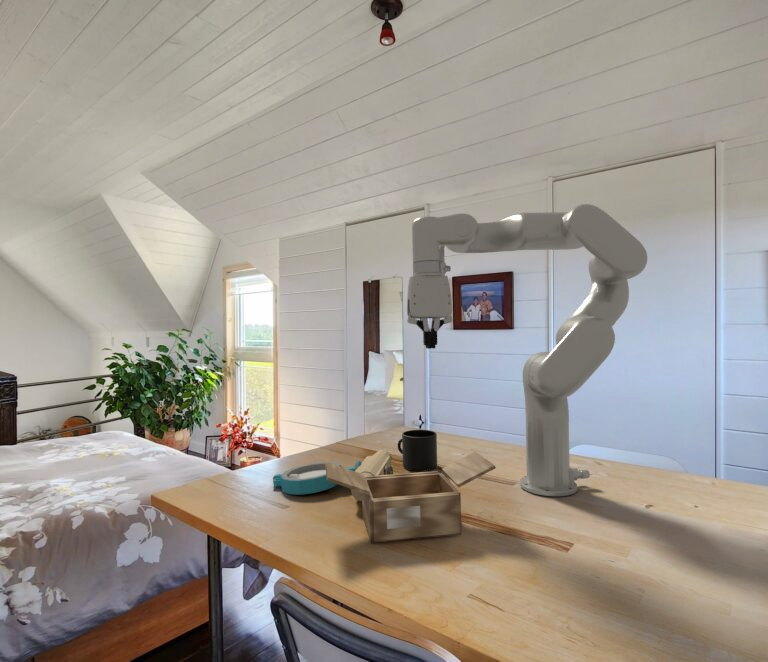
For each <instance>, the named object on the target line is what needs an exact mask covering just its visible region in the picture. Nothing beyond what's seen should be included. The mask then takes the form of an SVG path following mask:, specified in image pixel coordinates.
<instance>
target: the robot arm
mask: <svg viewBox="0 0 768 662" xmlns="http://www.w3.org/2000/svg"><path fill="white" fill-rule="evenodd" d="M411 233H412V235H411V239H412V241H411V242H412V275H411V276H409V279H408V284H407V285H408V286H407V298H406V314H407V315H406V316H407V320H406V321H407V323H408V324H411V325H414V326H417V327H418V328H419V329H420V330H421V331H422V333H423V334H422V335H423V340H422V343H423V346H425V349H429V350H430V349H436V346H437V345H438V331H440V329H441V328H442V326H443V325H446V324H450V323H452V322H453V317H452V314H453V302H452V292H451V286H450V281H449V280H450V279H449V276H448V275H446V274H447V272H451V265H447V264H446V262H445V259H446V258H445V247H446V248H447V249H448V250H449V251H451V252H454V253H457V254H485V253H498V252H501V253H502V252H514V251H515V252H516V251H534V250H536V251H538V250H539V251H542V250H543V251H544V250H548V251H549V250H550V251H551V250H554V251H555V250H565V251H566V250H577V249H580V248H583V247H584V248H585V249H586V250H587V251H589V252H590V254H591V256H590V259H589V260H588V273H589V276H590V281H591V284H590V285H591V286H590V287H591V288H590V291H589V293H588V294H587V296H586V297H585V298H584V300H583V301H582V302H581V303H580V305H578V307H577V308H576V309H575V310H574V311H573V312H572V314H571V315H570V316H569V317H568V318H567V319H566V320H565V321H564V322H563V323H562V324H561V326H559V328H558V329H557V331H556V334H555V344H556V346H554V348H553V349H552V350H551V351H550V352H549V351H540V352H536V353H534V354H533V355H531V356H530V357H528V359H527V360H526V361H525V363H524V365H523V368H522V385H523V392H524V393H523V394H524V405H525V453H526V455H525V456H526V457H525V458H526V459H525V460H526V461H525V462H526V475H525V476H523V477H521V478H520V481H519V486H520V487H521V488H522V489H523V490H525V491H526V492H529V493H530V494H535V495H538V496H539V495H540V496H543V497H544V496H545V497H565V496H571V495H573V494H575V493H576V492H577V491H578V483H576V481H578V479H580V480H581V479H583V480H585V479H589V478H590V471H589V470H588V469H581V470H578V468H577V467H575V468H572V467H570V465H571V464H570V426H569V425H570V412H569V411H570V410H569V401H568V398H569V397H570V396H572V395H574V394H575V393H576V392H577V391H578V390H579V389H580V388H581V387H582V386H583V385H584V384H586V382H587V381H588V380H589V379H590V378H591V377H592V375H593V374H594V373H595V372H596V371H597V370H598V369H599V368H600V367H601V365H602V364H603V363H604V362H605V361H606V360H607V358H608V357H609V356H610V355H611V353H612V350H613V349H614V346H615V343H616V342H615V341H616V335H615V331H614V328H613V326H614V325H615V324H616V323H617V321H618V320H619V319H620V318H621V317H622V315H623V314H624V312H625V310H626V308H627V306H628V305H629V304H628V303H629V299H630V288H629V281H628V280H629V279H633V278H635V277H637V276H638V275H640V274H641V273H642V272H643V271H644V270H645V268H646V266H647V263H648V253H647V250H646V248H645V246H644V245H643V243H641V241H640V240H639V239H637V237H636V236H634V235H633V234H632V233H630V231H628V230H627V229H626V228H625V227H624V226H622V224H620V223H619V222H618V221H616V220H615V219H614V218H613V217H612V216H610V214H608V213H607V212H606V211H604V210H603V209H601V208H599V207H598V206H597V205H596V206H595V205H593V204H590V203H584V204H583V203H582V204H580V205H577V206H575V207H573V208H572V209H571V210H569V211H559V212H558V211H557V212H556V211H555V212H520V213H516V214H514V215H511V216H509V217H506V218H503V219H500V220H496V221H492V222H480V223H479V222H478V220H477V219H476V218H475V217H474V216H472V214H468V213H461V212H460V213H455V214H450V215H443V216H421V217H418V218H415V219H414V221H413V222H412V225H411ZM428 319H431V325H430V326H429V321H428Z"/></svg>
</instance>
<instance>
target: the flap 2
mask: <svg viewBox="0 0 768 662" xmlns="http://www.w3.org/2000/svg"><path fill="white" fill-rule="evenodd" d="M495 469H497V467H496V464H494V463H492V462H491V461H489V460H488V459H487V458H486V457H484V456H483V455H482V454H480V453H479V452H477V451H473V452H471V453H470V454H468V455H465V456H464V457H462V458H460V459H458V460H456V461H454V462H453V463H450V464H448V465H446V466H444V467H443V468H441V470H442V473H444V475H446V476H447V477H448V478H449V479H450V480H451V481H452V482H453V484H455V485H456V487H457V489H458V488H461V487H463V486H464V485H467V484H469V483H470V482H473V481H475V480H476V479H477V478H480V477H482V476H483V475H486V474H487V473H489V472H491V471H493V470H495Z"/></svg>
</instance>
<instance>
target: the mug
mask: <svg viewBox="0 0 768 662" xmlns="http://www.w3.org/2000/svg"><path fill="white" fill-rule="evenodd" d="M437 439H438V438H437V433H436V431H433V430H428V429H411V430H405V431H404V432H402V434H401V438H400V439H399V440H398V442H397V449H398V451H399V453H400V454H401V455H402V467H403V468H404V467H405V468H404V469H406V468H407V469H406V470H408V469H410V470H409V471H412V470H416V471H415V472H423V471H422V470H428V471H432V470H434V468H435V469H436V468H437V467H438V440H437ZM401 445H402V446H401ZM431 469H432V470H431Z"/></svg>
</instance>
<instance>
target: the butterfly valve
mask: <svg viewBox="0 0 768 662" xmlns="http://www.w3.org/2000/svg"><path fill="white" fill-rule="evenodd" d="M392 458H393V457H392V453H390V451H389V450H387V449H380V450H378V451H376V452H375V453H373V454H372V455H367V456H366V457H365V458H364V459H363V461H360V460H358V461H356V462H355V466H347V467H345V468H346V469H349V470H352V471H355V472H358V473H361V474H364V477H365V476H379V475H392V474H394V469H393V466H392V460H393V459H392ZM326 462H327V461H319V462H312V463H307V464H306V463H305V464H302V465H298V466H295V467H292V468H290V469H288V470H286V471H284V472H283V473H277V474H275V475H273V477H272V482H273V483H272V484H273V487H274V488H275V487H276V488H277V487H281V490H283V491H284V492H285V494H288V495H294V496H296V495H298V496H299V495H300V496H301V495H309V494H315V493H318V492H319V493H320V492H323V491H326V490H329V489H332V488H334V487H336V486H337V485H338V484H335V483H332V482H329V481H327V476H326V468H325V463H326ZM328 462H329V463H332V464H335V465H338V466H341V467H342V464H341V463H340V462H335V461H328ZM283 491H282V492H283ZM284 492H283V493H284ZM350 493H351V496H352V497H353V498H354V499H355V501H358V502H362V492H359V491H356V490H353V489H350Z"/></svg>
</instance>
